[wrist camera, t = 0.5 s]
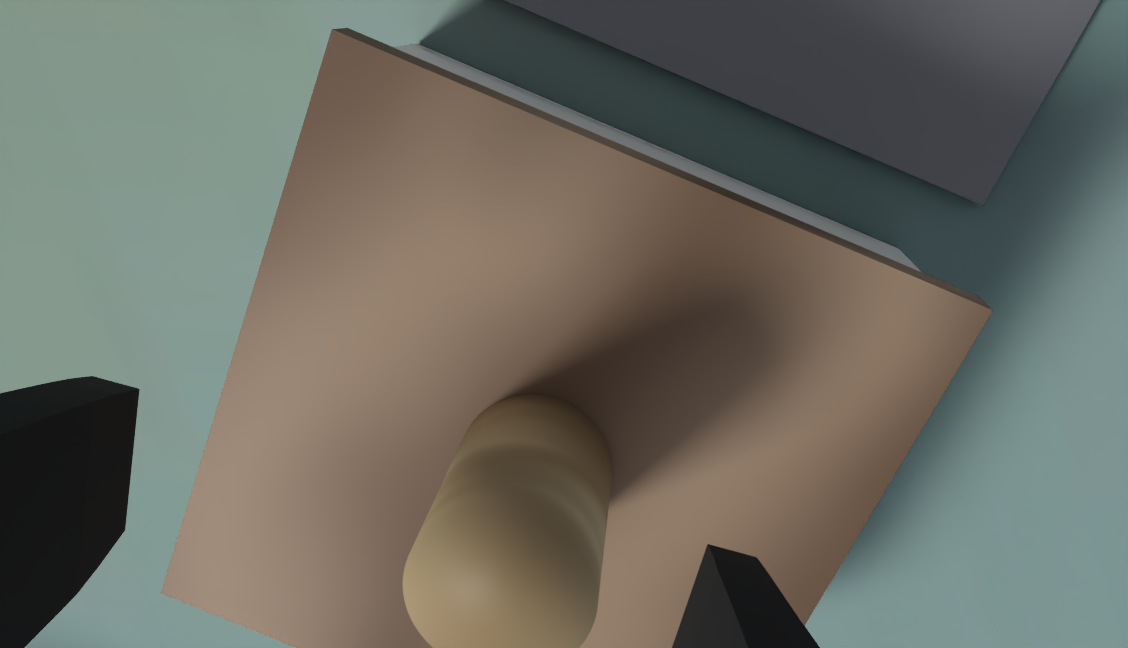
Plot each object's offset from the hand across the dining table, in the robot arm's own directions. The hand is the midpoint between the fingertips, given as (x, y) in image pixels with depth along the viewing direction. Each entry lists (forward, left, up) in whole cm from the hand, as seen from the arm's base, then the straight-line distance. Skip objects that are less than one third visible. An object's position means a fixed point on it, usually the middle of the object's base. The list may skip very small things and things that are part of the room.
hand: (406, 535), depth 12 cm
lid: (-1, +1, -6) cm, 7 cm away
